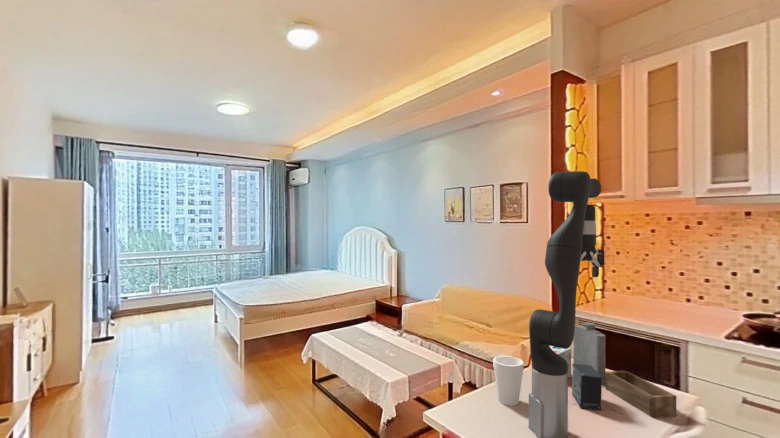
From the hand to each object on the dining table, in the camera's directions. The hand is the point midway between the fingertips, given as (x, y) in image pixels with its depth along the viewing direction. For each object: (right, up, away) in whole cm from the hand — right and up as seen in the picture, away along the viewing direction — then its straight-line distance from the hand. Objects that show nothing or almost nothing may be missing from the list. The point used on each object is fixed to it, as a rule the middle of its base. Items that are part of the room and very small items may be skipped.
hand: (584, 277), depth 140 cm
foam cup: (-33, -38, -16) cm, 53 cm away
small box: (-8, -38, -17) cm, 42 cm away
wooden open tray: (+9, -38, -16) cm, 42 cm away
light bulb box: (-9, -38, +3) cm, 40 cm away
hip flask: (+4, -38, +4) cm, 39 cm away
